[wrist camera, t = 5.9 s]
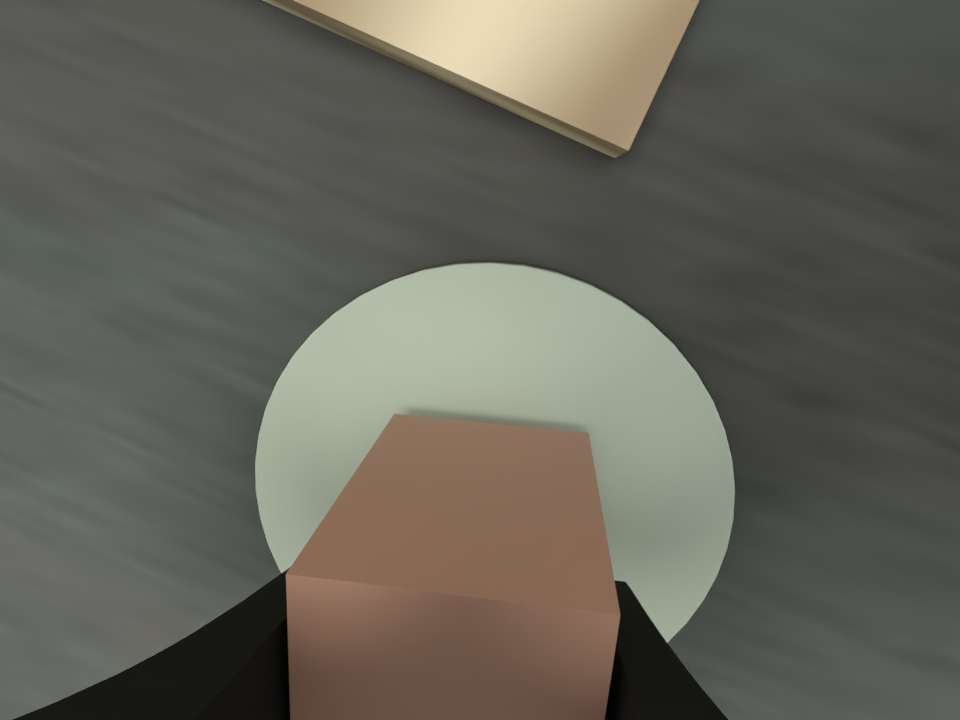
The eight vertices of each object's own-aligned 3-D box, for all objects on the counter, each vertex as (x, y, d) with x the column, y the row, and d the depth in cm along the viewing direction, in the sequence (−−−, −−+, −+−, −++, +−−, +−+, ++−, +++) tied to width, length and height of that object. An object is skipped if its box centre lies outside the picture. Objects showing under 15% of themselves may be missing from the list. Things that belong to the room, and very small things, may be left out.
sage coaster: (823, 387, 14) (835, 395, 14) (595, 746, 17) (597, 765, 17) (353, 177, 14) (344, 177, 13) (213, 580, 17) (201, 593, 17)
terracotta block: (588, 432, 13) (620, 614, 8) (568, 600, 15) (581, 866, 9) (394, 413, 14) (286, 574, 8) (390, 579, 15) (293, 821, 9)
